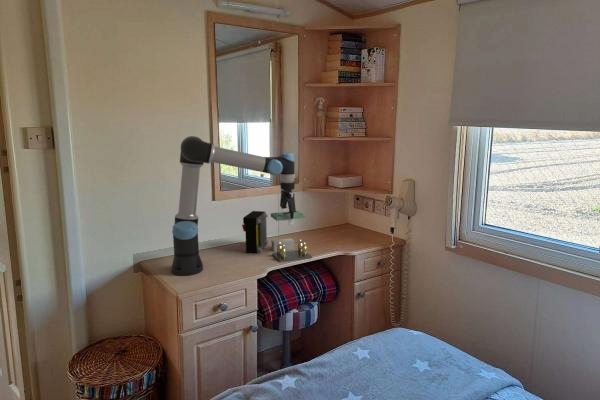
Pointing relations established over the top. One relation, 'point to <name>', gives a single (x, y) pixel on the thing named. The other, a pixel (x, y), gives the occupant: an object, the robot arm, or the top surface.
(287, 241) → the foam block
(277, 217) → the board
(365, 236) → the top surface
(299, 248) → the chassis
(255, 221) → the electrical component
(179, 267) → the robot arm
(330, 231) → the top surface
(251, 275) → the top surface
